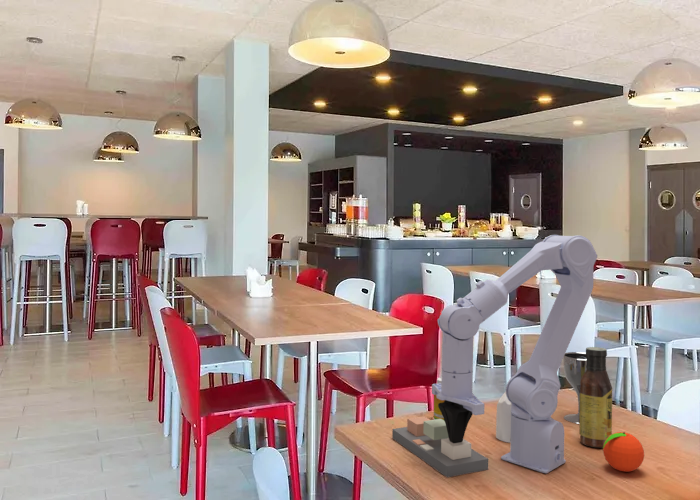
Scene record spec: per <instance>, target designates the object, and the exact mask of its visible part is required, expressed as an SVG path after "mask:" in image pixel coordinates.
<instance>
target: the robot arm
mask: <svg viewBox="0 0 700 500" xmlns="http://www.w3.org/2000/svg"><path fill="white" fill-rule="evenodd" d="M597 258H598V254H597V252H596V249H595V248H594V246H593V243H592V242H591V240H590V239H589V238H587V237H585V236H583V235H577V234H576V235H559V234H551V235H549V236H546V237H545V238H544V239H543V240H542V241H539V242H538V243H536V244H535V245H533V247H532V248H531V250H530V251H528V252H527V253H526V254H525V255H524V256H523V257H522V258H520V259H519V260H517V262H515V263H514V264H513V265H512V266H510V268H509V269H508V270H506V271H505V272H504V273H503V274H501V276H500V277H498V278H497V279H496V280H495V279H494V280H493V279H485V280H484V281H483V280H479V281H478V282H477V283H476V284H475V288H474V289H472V290H471V291H470V292H469V293H468V294H467V295H465V296H464V297H459V298H458V299H456V304H451V305H448V306H446V307H444V308H443V310H442V311H441V314H440V315H439V318H437V325H438V327H439V329H440V330H441V331H442V345H441V377H442V384H441V383H438V384H437V383H433V384H431V394H432V395H433V396H434V395H436V398H438V399H440V400H445V401H444V402H443V403H439V404H438V407H439V409H440V411H441V413H442V415H443V418H444V421H445V424H446V428H447V432H448V437H449V441H450V442H452V443H459V442H462V441H463V439H464V437H465V433H466V430H467V427H468V424H469V422H470V420H471V418H472V416H481V415H485V403H484V402H482V401H481V400H480V399H478V397H477V396H476V395H475V393H473V386H474V385H473V378H474V377H473V376H474V374H473V372H474V369H473V368H474V365H473V364H474V337H475V336H476V335H477V334H478V332H479V330H480V326H481V324H483V322H485V321H486V320H488V319H489V318H490V317H491V316H492V315H494V314H495V313H496V312H497V311H499V310H500V309H501V308H503V307H504V306H505V305H506V304H507V302H508V298H509V294H510V293H512V292H513V291H514V290H516V289H517V288H519V287H520V286H522V285H523V284H525V283H526V282H528V281H529V280H530V279H532V278H533V277H535V276H536V275H537V274H539V273H540V272H541V271H551V272H552V273H553V274H554V276H555V277H556V279H557V282H558V283H559V285H560V288H559V291H558V293H557V296H556V297H555V300H554V303H553V305H552V307H551V310H550V311H549V313H548V316H547V318H546V320H545V323H544V325H543V328H542V330H541V332H540V335H539V336H538V339H537V341H536V344H535V346H534V348H533V351H532V353H531V355H530V357H529V360H527V361H526V362H524V363H522V364H521V365H519V367H518V369H517V372H516V373H515V374H514V375H513V376H512V377H511V378H510V379H508V382H507V383H506V385H505V392H506V396H507V398H508V400H509V401H510V402H511V440H510V443H509V445H510V446H509V448H510V449H509V452H507V453H505V454H503V455H502V456H500V459H501V460H503V461H505V462H509V463H512V464H515V465H518V466H521V467H525V468H527V469H530V470H534V471H537V472H539V473H543V474H549V473H550V472H552V471H553V470H554V469H557V468H559V466H562V465H563V464H565V463H566V459H565V428H564V425H563V423H562V422H561V421H558V420H556V419H554V418H553V417H552V415H553V414H555V411H556V410H557V408H558V403H559V402H558V396H559V391H560V389H561V382H560V379H559V376H558V370H559V368H560V366H561V364H562V363H563V357H564V355H565V353H567V350H568V348H569V345H570V343H571V341H572V338H573V336H574V334H575V331H576V329H577V326H578V324H579V323H580V320H581V317H582V316H583V313H584V312H585V311H584V310H585V308H586V307H587V306H586V305H587V303H588V301H589V299H590V297H591V294H592V292H593V290H594V265H595V264H596V262H597Z"/></svg>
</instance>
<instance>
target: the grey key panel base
mask: <svg viewBox="0 0 700 500" xmlns="http://www.w3.org/2000/svg"><path fill="white" fill-rule="evenodd" d="M391 431H392V437H391V438H392V439H393V440H394V441H395V442H396V443H398V444H400V445H402V447H404V448H406V449H407V450H408V451H409V452H411V453H412V454H413V455H415V456H416V457H417V458H419V459H420V460H422V461H423V462H425V463H426V464H428V465H429V466H430V467H431V468H433V469H434V470H436V471H437V472H439V473H440V474H441V475H442V476H444V477H446V478H450V477H456V476H457V477H458V476H462V475H466V474H473V473H477V472H482V471H488V470H489V458H488V457H486V456H484V455H483V454H481V453H479V452H478V451H476V450H474V449H473V448H471V457H467V458H461V459H456V460H452V459H451V458H449V457H448V456H446V455H445V454H443V453H441V439H439V440H433V439H431V438H430V437H428V436H427V435H424V436H418V437H417V436H415V435H414V434H412V433H411V432H409V431H408V430H407V426H403V427H397V428H392V430H391ZM445 439H446V438H445Z"/></svg>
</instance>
